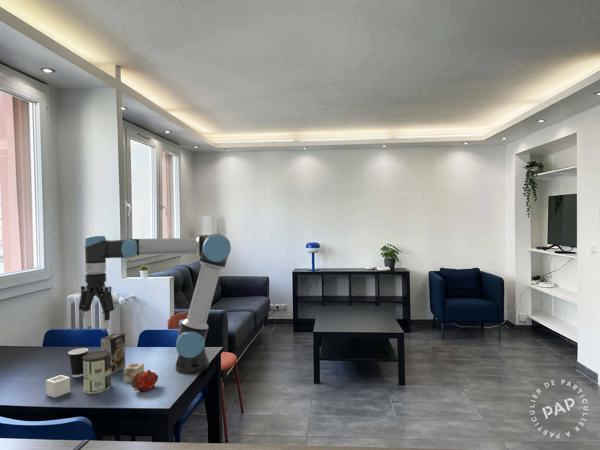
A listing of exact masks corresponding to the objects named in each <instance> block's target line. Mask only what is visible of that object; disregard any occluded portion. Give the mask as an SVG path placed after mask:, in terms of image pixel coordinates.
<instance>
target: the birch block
mask: <svg viewBox="0 0 600 450" xmlns="http://www.w3.org/2000/svg"><path fill="white" fill-rule="evenodd" d="M144 364H145V363H142V362H141V363H136V362H135V363H133V362H131V363H129V364H128V365H127V366H126V365H125V368H123V383H132V380H133V378H134V376H135V375H136V374H137V373H141V372H142V371H144V372H145V368H144V366H145V365H144Z"/></svg>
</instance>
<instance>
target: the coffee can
mask: <svg viewBox="0 0 600 450" xmlns="http://www.w3.org/2000/svg"><path fill="white" fill-rule="evenodd" d="M83 373H84V375H83V393H85V394H89V395H91V394H92V395H93V394H99V393H103V392H106V391H108V390H109V389H111V388H112V374H111V352H109V351H101V350H99V351H98V350H97V351H93V352H88V353H87V354H86V355H84V356H83Z"/></svg>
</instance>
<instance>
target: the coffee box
mask: <svg viewBox="0 0 600 450" xmlns="http://www.w3.org/2000/svg"><path fill="white" fill-rule="evenodd" d="M100 351H109V352H111V375H113V374H115V373H117V372H119V371H121V370H122V369H123V370H124V368H125V367H126V335H125V333H111V334H109V335H107V336H104V337H102V338H100Z"/></svg>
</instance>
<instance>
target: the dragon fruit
mask: <svg viewBox="0 0 600 450" xmlns="http://www.w3.org/2000/svg"><path fill="white" fill-rule="evenodd" d="M158 379H159V376H158V375H157V373H156V372H154V371H153V372H152V371H151V370H150V369H147V371H145V370H144V371H142V372H141V373H137V374H136V375H135V376H134V378H133V380H132V382H131V387H132V388H133V390H134V391H136V392H137V391H139V393H141V392H143V391H145V392H148V391H149V390H151V389H154V388H155V385H156V383H157V381H158Z"/></svg>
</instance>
